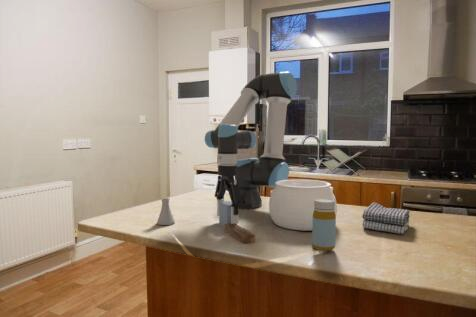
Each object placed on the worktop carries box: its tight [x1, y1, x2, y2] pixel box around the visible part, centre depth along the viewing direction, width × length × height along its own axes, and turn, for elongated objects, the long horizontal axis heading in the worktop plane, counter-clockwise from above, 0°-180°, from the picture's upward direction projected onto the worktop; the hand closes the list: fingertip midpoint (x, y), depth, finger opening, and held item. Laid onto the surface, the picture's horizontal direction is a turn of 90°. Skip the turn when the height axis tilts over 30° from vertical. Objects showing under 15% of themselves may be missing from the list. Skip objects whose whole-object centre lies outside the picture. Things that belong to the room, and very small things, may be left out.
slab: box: [218, 200, 238, 228], centre depth 130 cm, size 4×8×9 cm, turn 26°
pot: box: [268, 179, 338, 232], centre depth 133 cm, size 29×26×16 cm
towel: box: [362, 201, 411, 235], centre depth 129 cm, size 15×18×8 cm
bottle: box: [311, 199, 337, 252], centre depth 104 cm, size 7×7×15 cm
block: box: [224, 223, 256, 244], centre depth 116 cm, size 4×16×2 cm, turn 26°
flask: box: [156, 197, 176, 226], centre depth 133 cm, size 7×7×10 cm
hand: (227, 219), depth 130 cm, fingers open, 13 cm apart
